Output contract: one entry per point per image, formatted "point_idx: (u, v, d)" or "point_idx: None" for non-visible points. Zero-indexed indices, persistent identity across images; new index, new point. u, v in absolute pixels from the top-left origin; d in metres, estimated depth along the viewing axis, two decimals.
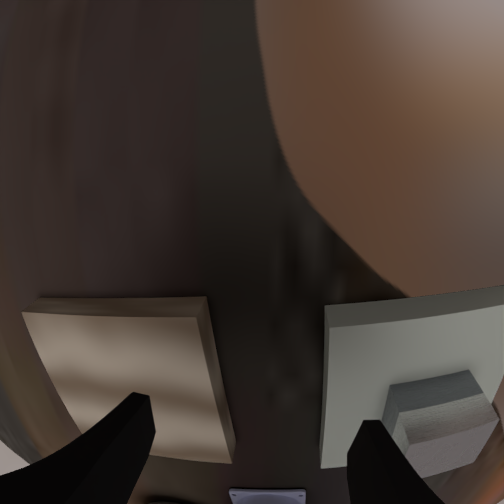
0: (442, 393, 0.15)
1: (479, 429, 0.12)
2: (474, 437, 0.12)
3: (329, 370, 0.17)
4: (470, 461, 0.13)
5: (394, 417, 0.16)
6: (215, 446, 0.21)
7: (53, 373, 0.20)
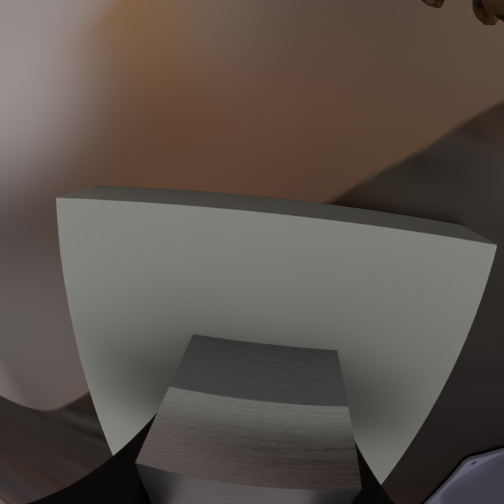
0: None
1: (160, 494, 0.05)
2: (193, 503, 0.05)
3: None
4: (338, 497, 0.05)
5: None
6: None
7: None
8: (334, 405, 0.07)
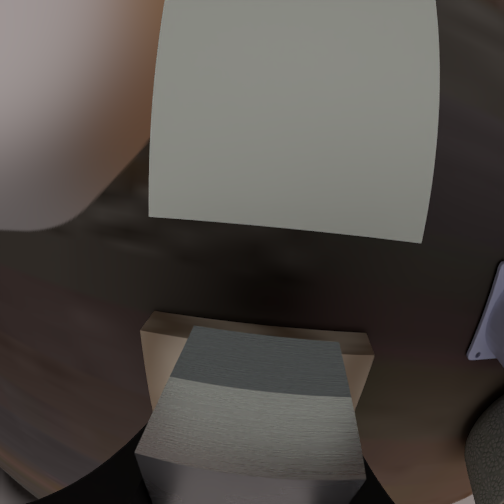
0: None
1: (159, 487, 0.05)
2: (193, 496, 0.05)
3: (204, 219, 0.15)
4: (342, 489, 0.05)
5: None
6: None
7: None
8: (337, 396, 0.07)
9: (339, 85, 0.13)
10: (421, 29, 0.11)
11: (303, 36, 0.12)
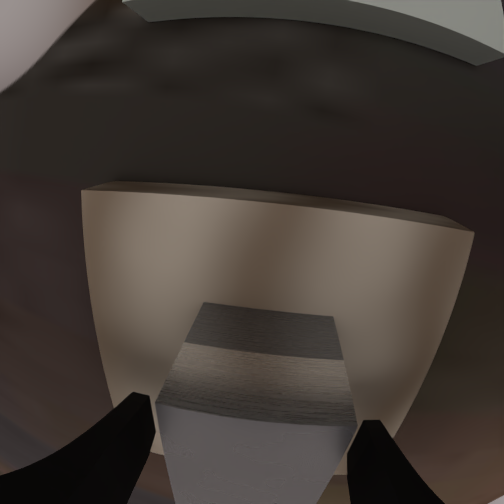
0: None
1: (174, 440, 0.07)
2: (205, 448, 0.07)
3: None
4: (337, 437, 0.06)
5: None
6: (415, 250, 0.10)
7: None
8: (331, 358, 0.08)
9: None
10: None
11: None
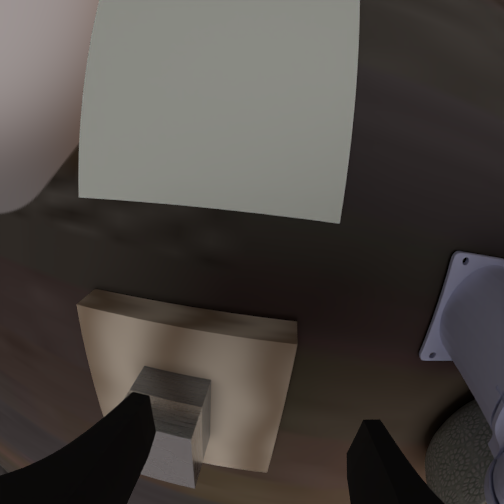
0: None
1: None
2: None
3: (122, 198, 0.16)
4: (184, 442, 0.14)
5: None
6: (253, 352, 0.18)
7: None
8: (195, 405, 0.16)
9: (244, 64, 0.13)
10: (339, 1, 0.11)
11: (211, 22, 0.12)
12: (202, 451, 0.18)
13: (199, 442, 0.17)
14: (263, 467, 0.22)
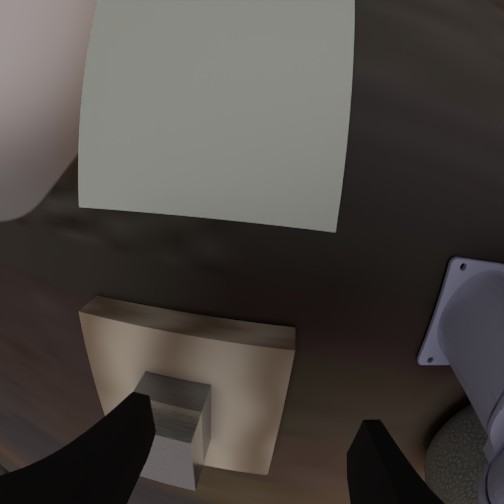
0: None
1: None
2: None
3: (121, 209, 0.16)
4: (184, 446, 0.14)
5: None
6: (252, 358, 0.18)
7: None
8: (195, 410, 0.17)
9: (239, 75, 0.13)
10: (333, 8, 0.11)
11: (206, 32, 0.13)
12: (203, 454, 0.18)
13: (199, 446, 0.17)
14: (264, 469, 0.22)
